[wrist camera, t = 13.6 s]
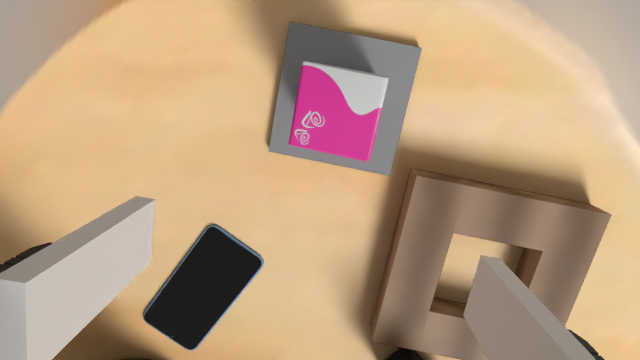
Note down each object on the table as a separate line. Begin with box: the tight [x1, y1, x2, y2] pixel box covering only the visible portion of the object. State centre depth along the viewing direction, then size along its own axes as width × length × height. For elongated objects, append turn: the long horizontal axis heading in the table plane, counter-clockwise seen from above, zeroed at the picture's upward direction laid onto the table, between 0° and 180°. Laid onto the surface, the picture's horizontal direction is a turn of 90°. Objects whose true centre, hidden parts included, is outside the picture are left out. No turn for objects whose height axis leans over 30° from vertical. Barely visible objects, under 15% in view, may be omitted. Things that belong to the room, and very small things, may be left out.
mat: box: [269, 21, 422, 176], centre depth 36 cm, size 12×12×1 cm
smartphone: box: [143, 225, 264, 350], centre depth 43 cm, size 7×1×15 cm
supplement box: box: [289, 61, 389, 162], centre depth 30 cm, size 6×6×12 cm
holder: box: [370, 168, 611, 360], centre depth 39 cm, size 18×18×3 cm
